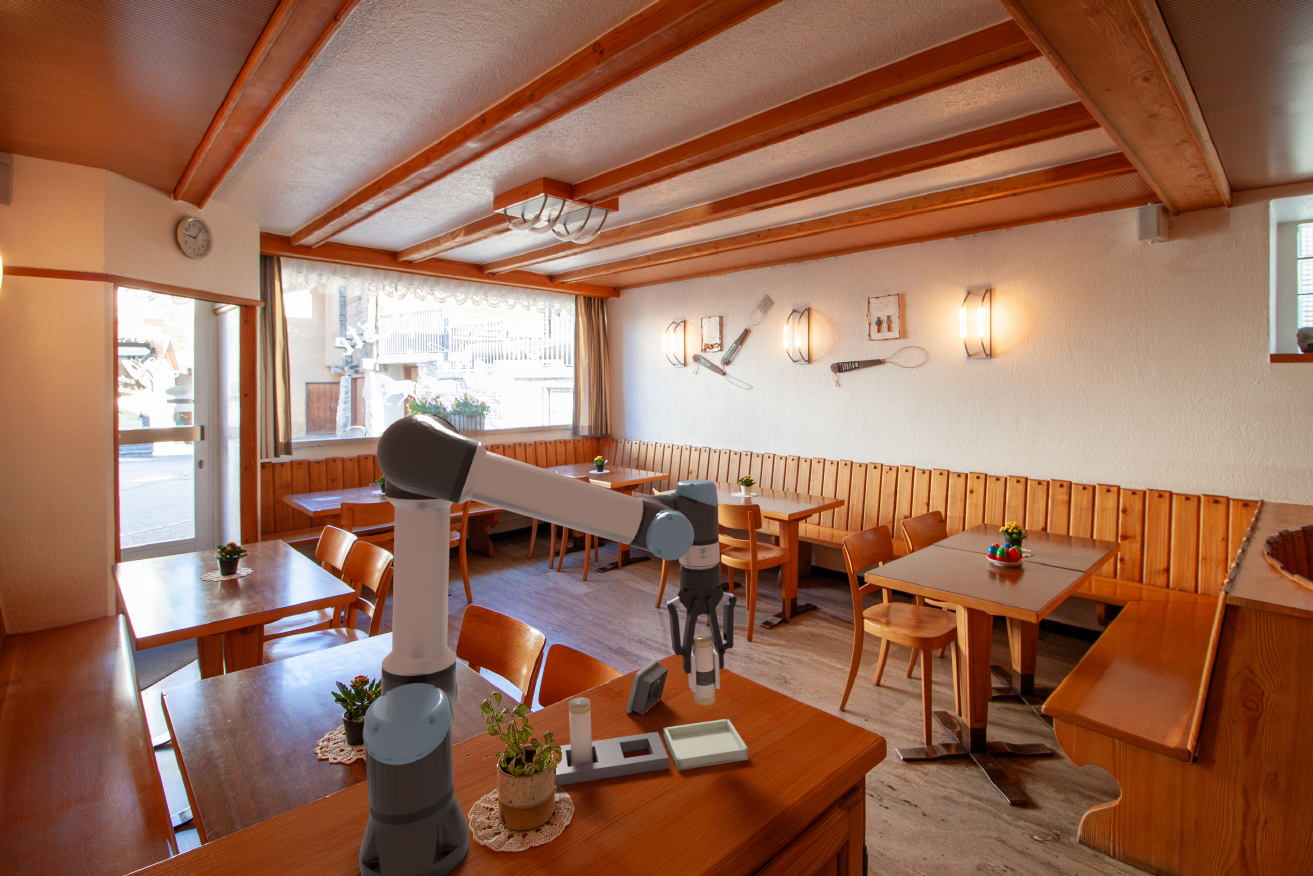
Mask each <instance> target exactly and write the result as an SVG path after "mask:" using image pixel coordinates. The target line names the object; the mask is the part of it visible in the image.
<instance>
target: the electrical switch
mask: <svg viewBox="0 0 1313 876" xmlns="http://www.w3.org/2000/svg"><path fill="white" fill-rule="evenodd" d="M668 672H669V668H667V667H665V666H663V665H662V664H661V663H660V659H658V658H656V657H655V658H654V659H653V660H651V661H650V662H649V663H647V664H646V665H645V666H644V667H642V668H640V669H639V670H638V671H637V672H636V673H635V674H634V676H633V680H632V684H631V689H630V693H629V697H628V700H627V705H626V712H627V713H629V714H631V713H632V712H634V713H637V714H639V715H641V716H644V715H645V714H646V713H647V712H648V711H647V710H649V708H651V706H652V705H654V703H656V702H658V700H660V701H661V700H662V695H663V693H664V688H665V684H666V679H667V676H668ZM658 703H659V702H658ZM656 704H657V703H656ZM654 706H655V705H654ZM651 709H652V708H651ZM646 711H647V712H646ZM649 711H650V710H649ZM645 712H646V713H645ZM644 713H645V714H644Z"/></svg>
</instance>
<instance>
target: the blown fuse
mask: <svg viewBox="0 0 1313 876" xmlns="http://www.w3.org/2000/svg"><path fill="white" fill-rule="evenodd" d="M713 649H714V643H713V637H712V634H707V633H698V634H694V639H693V646H692V653H693V655H694V656H695V663H696V688H697V692H693V693H694V694H693V695H694V702H695V703H696V705H700V706H710V705H712V704H714V703H715V702H716V693H715V691H716V690H715V689H716V688H715V686H714V659H713Z"/></svg>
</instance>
